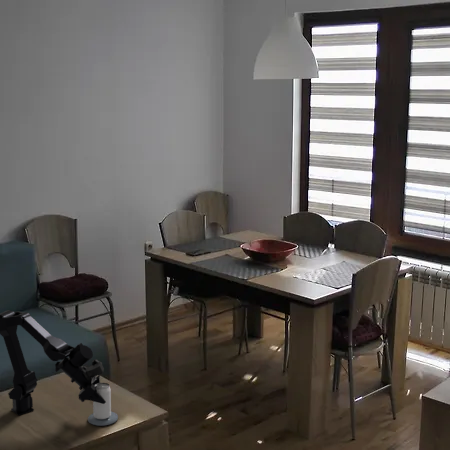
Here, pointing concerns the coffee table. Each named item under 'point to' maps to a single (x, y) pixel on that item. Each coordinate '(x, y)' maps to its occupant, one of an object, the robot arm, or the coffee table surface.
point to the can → (98, 408)
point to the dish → (103, 420)
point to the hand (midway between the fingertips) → (105, 399)
